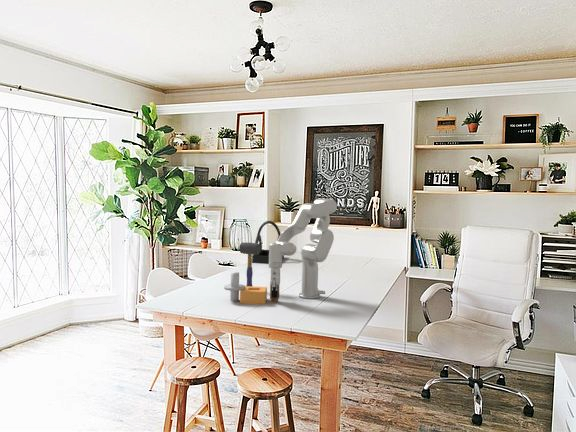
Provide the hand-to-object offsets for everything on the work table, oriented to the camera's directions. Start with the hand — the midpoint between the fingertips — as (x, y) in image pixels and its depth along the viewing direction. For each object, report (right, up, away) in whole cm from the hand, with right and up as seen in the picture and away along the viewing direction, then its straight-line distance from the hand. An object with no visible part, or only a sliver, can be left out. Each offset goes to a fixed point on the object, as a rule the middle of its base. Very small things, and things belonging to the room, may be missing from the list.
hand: (274, 295), depth 264 cm
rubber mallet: (-17, -1, +28) cm, 33 cm away
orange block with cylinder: (-17, -3, +1) cm, 17 cm away
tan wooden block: (0, -3, 0) cm, 3 cm away
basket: (-9, +7, +138) cm, 139 cm away
